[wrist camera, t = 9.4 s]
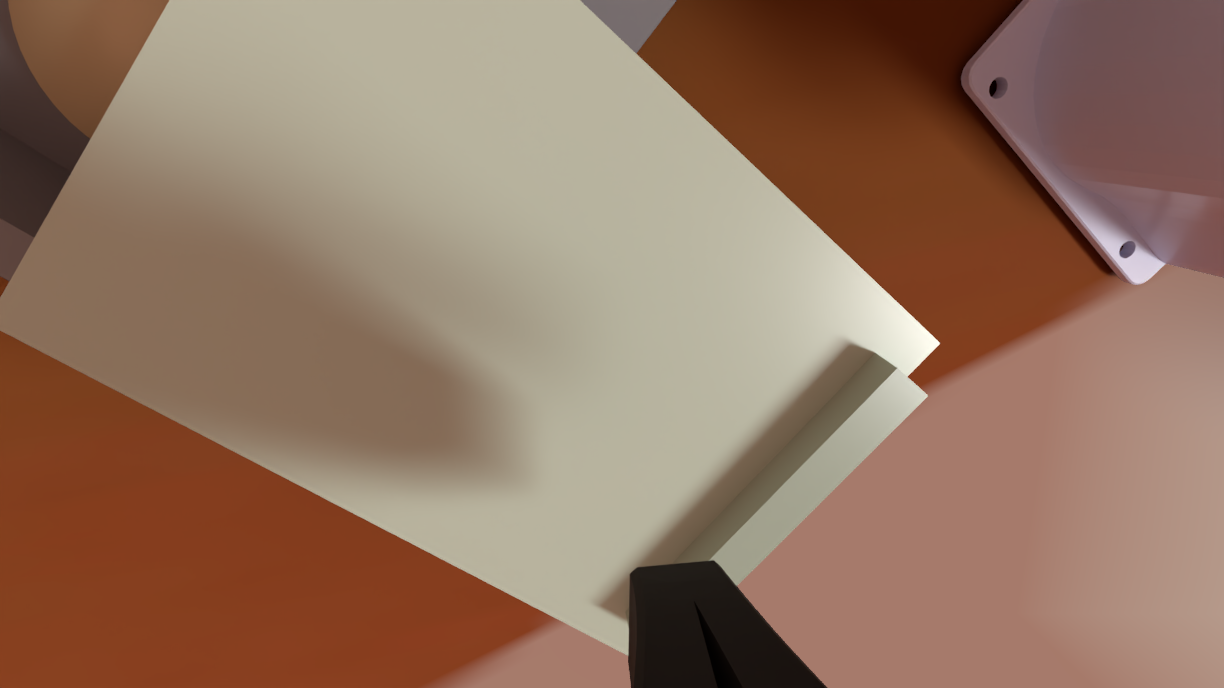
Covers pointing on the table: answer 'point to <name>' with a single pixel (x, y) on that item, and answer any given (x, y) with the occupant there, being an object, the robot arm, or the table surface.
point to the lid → (468, 290)
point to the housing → (110, 91)
